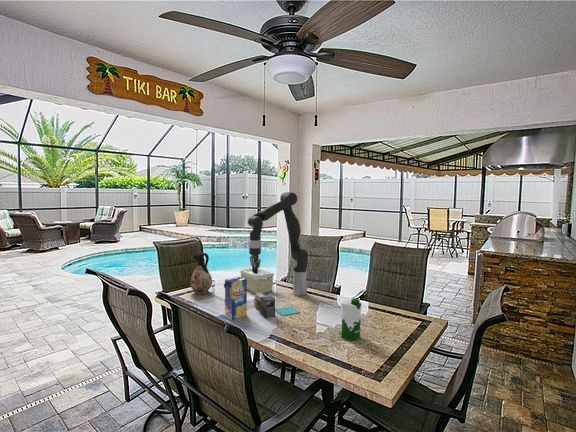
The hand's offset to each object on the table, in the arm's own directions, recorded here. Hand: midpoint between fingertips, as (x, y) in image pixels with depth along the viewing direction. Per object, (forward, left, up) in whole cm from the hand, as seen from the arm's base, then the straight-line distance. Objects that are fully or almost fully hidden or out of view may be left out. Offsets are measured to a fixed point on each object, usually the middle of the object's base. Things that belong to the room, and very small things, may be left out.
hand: (254, 272), depth 214 cm
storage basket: (-14, -31, -22) cm, 40 cm away
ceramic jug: (+26, -40, -21) cm, 52 cm away
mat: (-13, +20, -21) cm, 32 cm away
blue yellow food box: (+18, +14, -21) cm, 31 cm away
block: (0, +7, -21) cm, 22 cm away
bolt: (0, +14, -15) cm, 20 cm away
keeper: (0, +22, -21) cm, 30 cm away
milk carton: (-26, +67, -21) cm, 75 cm away
